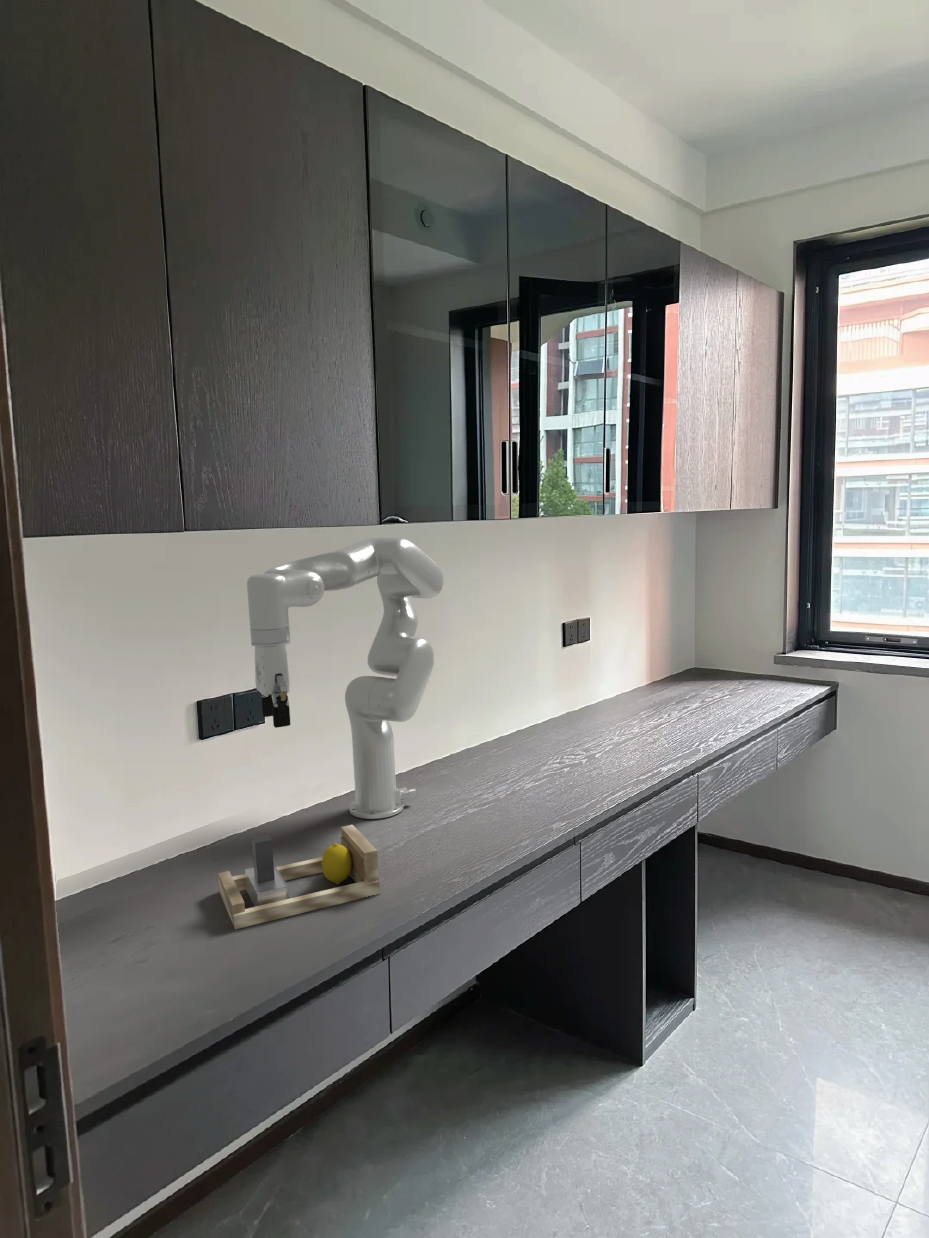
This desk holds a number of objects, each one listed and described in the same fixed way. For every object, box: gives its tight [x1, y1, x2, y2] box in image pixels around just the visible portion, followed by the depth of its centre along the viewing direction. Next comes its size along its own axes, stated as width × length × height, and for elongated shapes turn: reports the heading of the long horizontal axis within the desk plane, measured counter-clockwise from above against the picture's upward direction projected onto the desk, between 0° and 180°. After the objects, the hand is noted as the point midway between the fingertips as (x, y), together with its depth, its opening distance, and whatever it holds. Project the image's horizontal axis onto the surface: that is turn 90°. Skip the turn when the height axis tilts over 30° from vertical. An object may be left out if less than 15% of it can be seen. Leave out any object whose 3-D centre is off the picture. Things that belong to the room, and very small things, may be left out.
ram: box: [244, 833, 290, 907], centre depth 152 cm, size 6×11×12 cm, turn 25°
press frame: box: [217, 824, 381, 930], centre depth 155 cm, size 26×16×8 cm, turn 115°
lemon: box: [322, 842, 352, 885], centre depth 158 cm, size 6×6×8 cm
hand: (276, 720), depth 169 cm, fingers open, 9 cm apart
